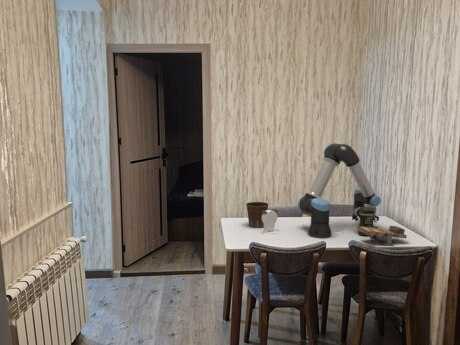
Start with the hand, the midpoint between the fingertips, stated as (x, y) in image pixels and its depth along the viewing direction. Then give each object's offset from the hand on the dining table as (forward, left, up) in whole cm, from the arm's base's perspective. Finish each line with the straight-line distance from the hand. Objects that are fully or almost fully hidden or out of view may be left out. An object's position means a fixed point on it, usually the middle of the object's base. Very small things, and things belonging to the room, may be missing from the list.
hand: (367, 221), depth 248 cm
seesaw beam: (+2, -12, -4) cm, 13 cm away
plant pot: (-63, +41, -11) cm, 76 cm away
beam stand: (+2, -12, -10) cm, 16 cm away
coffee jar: (+1, +4, -11) cm, 12 cm away
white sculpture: (-59, +24, -11) cm, 64 cm away
